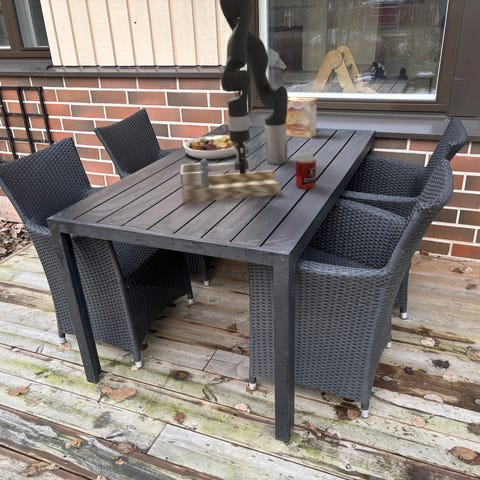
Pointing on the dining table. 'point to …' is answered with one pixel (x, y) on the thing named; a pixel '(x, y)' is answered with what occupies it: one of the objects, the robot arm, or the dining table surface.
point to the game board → (225, 184)
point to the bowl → (210, 147)
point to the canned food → (305, 172)
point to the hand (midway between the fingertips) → (241, 170)
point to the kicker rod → (219, 168)
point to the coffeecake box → (301, 117)
